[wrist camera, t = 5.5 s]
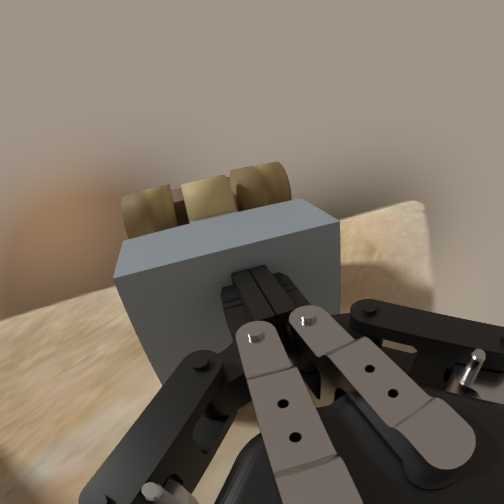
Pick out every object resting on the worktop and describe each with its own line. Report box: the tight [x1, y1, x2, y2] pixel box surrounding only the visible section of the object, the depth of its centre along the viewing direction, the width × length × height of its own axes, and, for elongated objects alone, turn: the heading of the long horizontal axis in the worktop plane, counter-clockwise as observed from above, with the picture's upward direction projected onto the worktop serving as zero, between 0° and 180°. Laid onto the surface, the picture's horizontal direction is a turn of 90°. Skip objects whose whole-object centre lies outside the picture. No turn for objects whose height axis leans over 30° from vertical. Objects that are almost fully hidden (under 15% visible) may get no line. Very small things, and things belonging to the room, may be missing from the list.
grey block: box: [113, 175, 340, 386], centre depth 17 cm, size 10×8×11 cm
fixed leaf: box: [121, 162, 291, 239], centre depth 22 cm, size 10×8×11 cm
